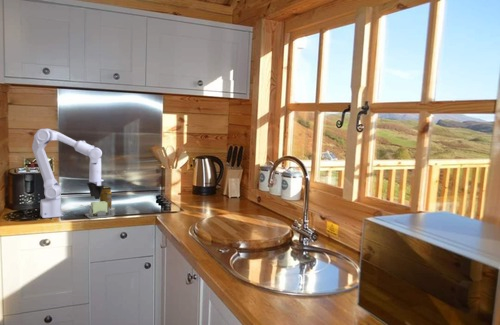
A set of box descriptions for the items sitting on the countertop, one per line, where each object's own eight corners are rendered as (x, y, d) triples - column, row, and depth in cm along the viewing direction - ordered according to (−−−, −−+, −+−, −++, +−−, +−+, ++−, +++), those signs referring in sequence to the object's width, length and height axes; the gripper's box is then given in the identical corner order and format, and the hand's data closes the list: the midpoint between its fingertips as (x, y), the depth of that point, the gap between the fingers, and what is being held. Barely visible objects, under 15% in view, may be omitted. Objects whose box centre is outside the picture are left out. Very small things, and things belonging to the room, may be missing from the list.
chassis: (89, 218, 207) (89, 211, 206) (85, 215, 214) (85, 207, 213) (114, 216, 214) (114, 208, 213) (108, 212, 221) (108, 205, 220)
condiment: (109, 206, 237) (109, 185, 236) (115, 209, 230) (115, 188, 229) (96, 207, 232) (96, 186, 231) (102, 210, 226) (102, 189, 225)
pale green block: (93, 213, 210) (93, 203, 209) (90, 211, 213) (90, 202, 213) (107, 212, 214) (107, 202, 213) (104, 210, 217) (104, 201, 217)
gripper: (107, 172, 209) (107, 199, 210) (99, 169, 220) (99, 194, 222) (93, 173, 205) (92, 200, 206) (85, 169, 216) (85, 195, 218)
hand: (95, 197), depth 214 cm, fingers open, 7 cm apart
